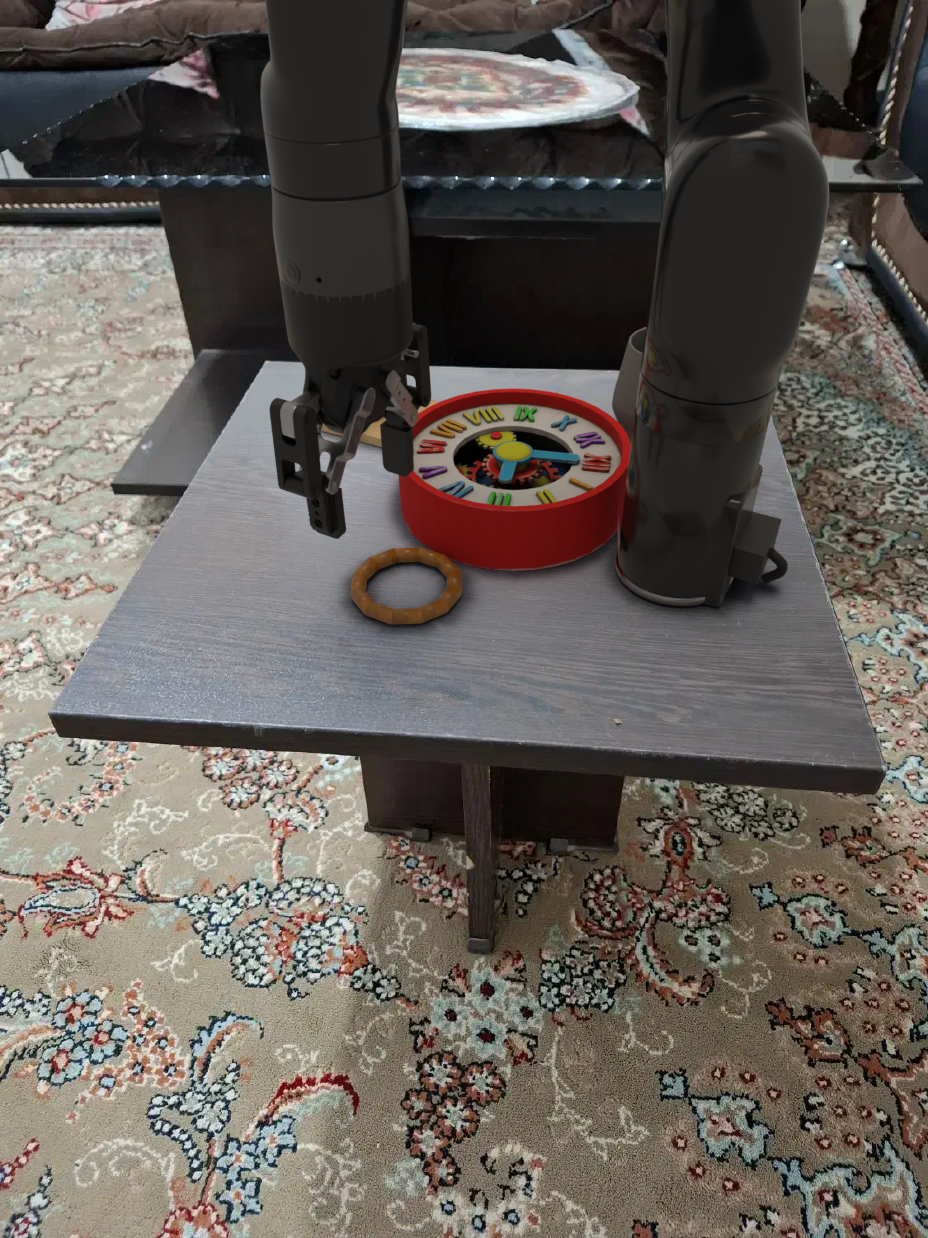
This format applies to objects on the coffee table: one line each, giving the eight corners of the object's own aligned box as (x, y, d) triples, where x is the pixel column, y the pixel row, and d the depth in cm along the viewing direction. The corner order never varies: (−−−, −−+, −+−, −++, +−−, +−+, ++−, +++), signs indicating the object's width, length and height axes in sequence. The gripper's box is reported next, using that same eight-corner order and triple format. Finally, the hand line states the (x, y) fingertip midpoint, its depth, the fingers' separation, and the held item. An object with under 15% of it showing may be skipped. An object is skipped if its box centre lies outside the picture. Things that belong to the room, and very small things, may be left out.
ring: (481, 574, 72) (481, 563, 72) (427, 641, 67) (426, 629, 66) (389, 545, 76) (388, 533, 75) (329, 605, 70) (328, 594, 69)
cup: (697, 415, 91) (713, 320, 84) (714, 464, 84) (733, 365, 78) (603, 415, 91) (612, 320, 85) (613, 464, 84) (624, 365, 78)
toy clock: (426, 380, 85) (638, 397, 82) (429, 434, 89) (631, 452, 86) (368, 497, 71) (623, 523, 67) (374, 556, 75) (615, 583, 71)
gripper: (325, 324, 45) (353, 574, 56) (462, 237, 54) (463, 466, 65) (210, 296, 48) (258, 539, 59) (359, 217, 57) (377, 440, 68)
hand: (366, 500), depth 62 cm, fingers open, 8 cm apart
